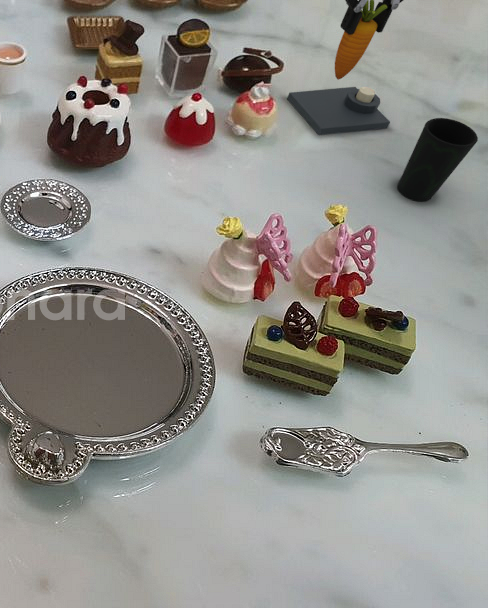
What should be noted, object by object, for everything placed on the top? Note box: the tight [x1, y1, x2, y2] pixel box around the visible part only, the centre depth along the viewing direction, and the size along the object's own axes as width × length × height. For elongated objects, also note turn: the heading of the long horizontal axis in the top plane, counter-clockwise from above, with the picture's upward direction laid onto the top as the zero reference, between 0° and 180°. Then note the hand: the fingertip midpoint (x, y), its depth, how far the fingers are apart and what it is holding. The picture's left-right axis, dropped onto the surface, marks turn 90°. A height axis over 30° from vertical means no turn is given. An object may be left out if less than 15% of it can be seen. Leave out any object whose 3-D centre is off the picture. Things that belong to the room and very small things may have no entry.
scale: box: [286, 86, 391, 136], centre depth 141 cm, size 14×12×3 cm
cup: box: [396, 117, 479, 203], centre depth 123 cm, size 8×8×12 cm
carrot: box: [334, 0, 387, 80], centre depth 131 cm, size 5×5×15 cm
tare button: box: [356, 86, 376, 103], centre depth 140 cm, size 3×3×2 cm
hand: (361, 28), depth 129 cm, fingers closed on carrot, 4 cm apart
